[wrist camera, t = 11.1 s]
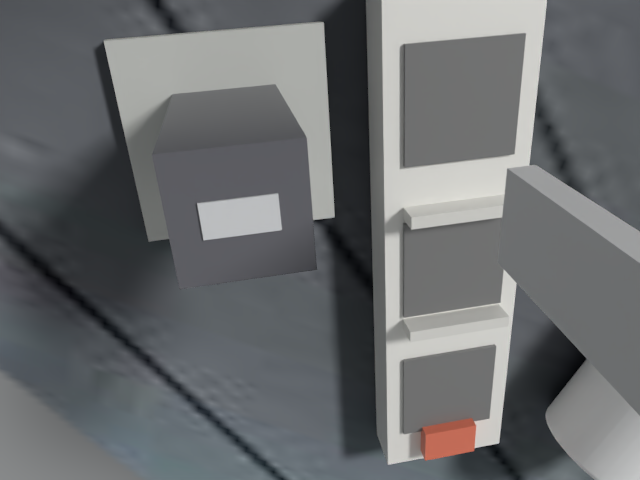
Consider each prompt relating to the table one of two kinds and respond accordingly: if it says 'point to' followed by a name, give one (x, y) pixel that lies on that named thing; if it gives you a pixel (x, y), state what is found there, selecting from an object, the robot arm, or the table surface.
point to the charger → (235, 186)
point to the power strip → (445, 212)
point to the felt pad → (214, 74)
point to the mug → (596, 426)
